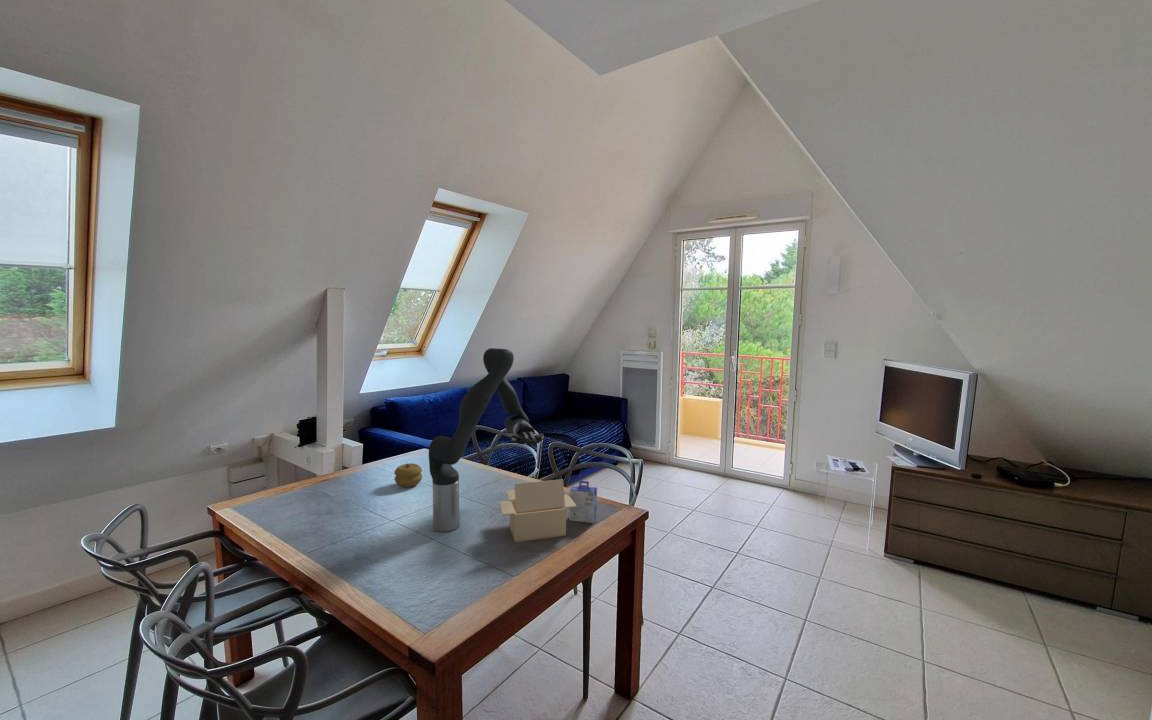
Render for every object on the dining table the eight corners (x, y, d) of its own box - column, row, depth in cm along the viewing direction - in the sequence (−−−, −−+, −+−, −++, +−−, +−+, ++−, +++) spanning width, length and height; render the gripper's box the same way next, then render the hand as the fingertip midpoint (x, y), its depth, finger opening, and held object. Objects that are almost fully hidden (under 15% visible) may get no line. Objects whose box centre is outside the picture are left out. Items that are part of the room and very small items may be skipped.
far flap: (515, 511, 160) (516, 512, 160) (514, 483, 162) (514, 484, 161) (564, 506, 165) (564, 506, 165) (563, 479, 167) (563, 479, 166)
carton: (503, 544, 160) (503, 515, 158) (495, 518, 180) (495, 491, 178) (576, 534, 167) (577, 506, 166) (561, 510, 187) (561, 484, 186)
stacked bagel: (416, 490, 206) (416, 468, 205) (390, 489, 206) (389, 467, 205) (426, 480, 217) (425, 459, 216) (400, 480, 218) (400, 459, 217)
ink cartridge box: (597, 517, 181) (597, 481, 180) (594, 523, 176) (595, 486, 174) (572, 514, 183) (572, 478, 182) (568, 521, 178) (569, 484, 176)
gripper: (507, 424, 187) (514, 435, 171) (540, 422, 191) (550, 432, 175) (507, 442, 188) (514, 455, 172) (540, 439, 192) (550, 452, 176)
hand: (532, 444), depth 173 cm, fingers closed
